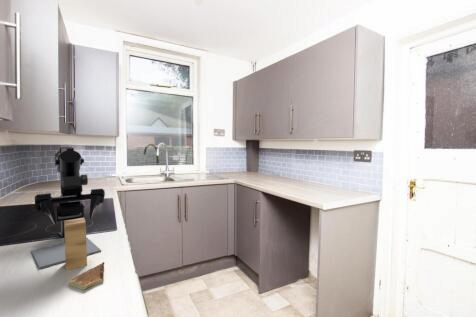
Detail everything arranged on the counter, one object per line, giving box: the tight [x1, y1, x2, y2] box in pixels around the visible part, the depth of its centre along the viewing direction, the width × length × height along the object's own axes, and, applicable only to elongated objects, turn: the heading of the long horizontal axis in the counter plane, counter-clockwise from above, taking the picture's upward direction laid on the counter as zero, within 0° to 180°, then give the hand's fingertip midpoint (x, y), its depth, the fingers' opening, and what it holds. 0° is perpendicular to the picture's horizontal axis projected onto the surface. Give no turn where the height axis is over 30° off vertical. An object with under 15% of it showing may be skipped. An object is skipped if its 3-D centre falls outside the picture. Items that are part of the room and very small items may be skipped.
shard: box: [67, 261, 105, 291], centre depth 65 cm, size 11×8×2 cm
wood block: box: [64, 217, 88, 271], centre depth 72 cm, size 5×5×13 cm
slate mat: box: [30, 236, 102, 270], centre depth 80 cm, size 16×16×1 cm
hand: (73, 221), depth 76 cm, fingers open, 9 cm apart
